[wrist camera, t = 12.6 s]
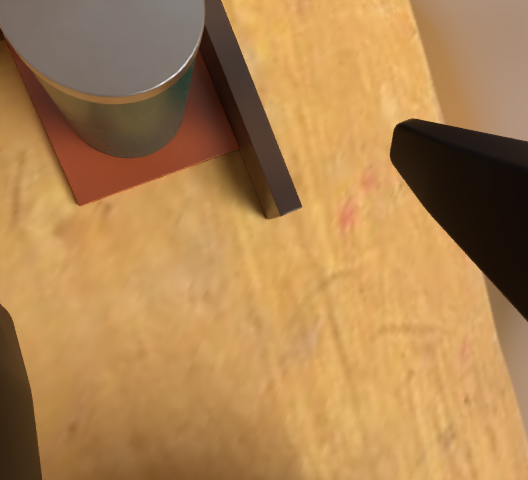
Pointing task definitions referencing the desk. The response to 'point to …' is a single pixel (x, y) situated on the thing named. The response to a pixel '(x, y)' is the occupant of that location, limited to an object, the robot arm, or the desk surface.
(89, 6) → the tea tin
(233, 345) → the desk surface
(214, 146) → the corner rail
